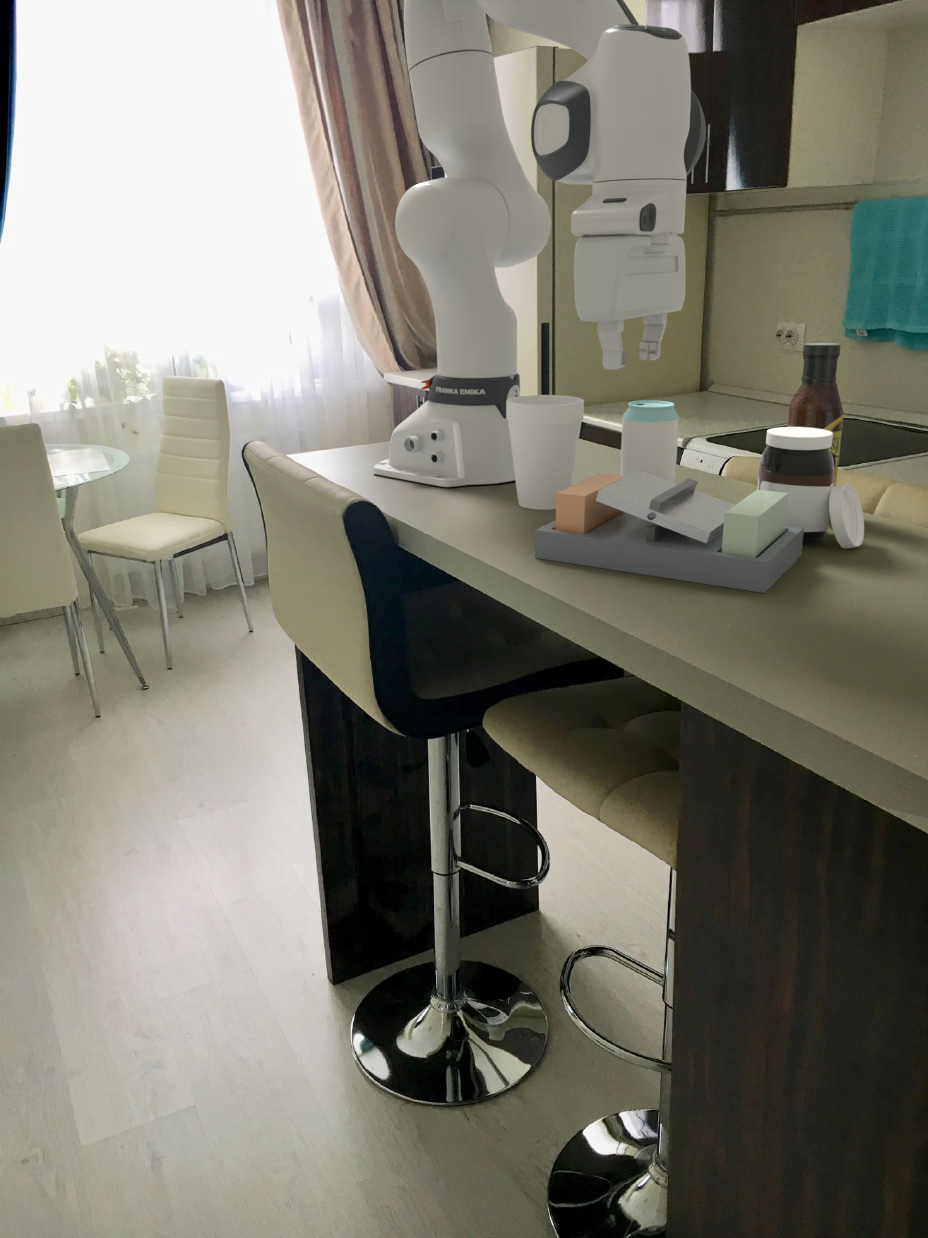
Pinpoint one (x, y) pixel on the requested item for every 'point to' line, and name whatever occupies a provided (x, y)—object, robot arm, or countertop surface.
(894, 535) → the countertop surface
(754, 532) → the button sage
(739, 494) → the countertop surface
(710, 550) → the grey rectangular tray
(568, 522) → the button terracotta
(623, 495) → the rocker
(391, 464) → the robot arm
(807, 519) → the spread jar
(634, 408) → the can
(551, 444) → the foam cup
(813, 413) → the sauce bottle
